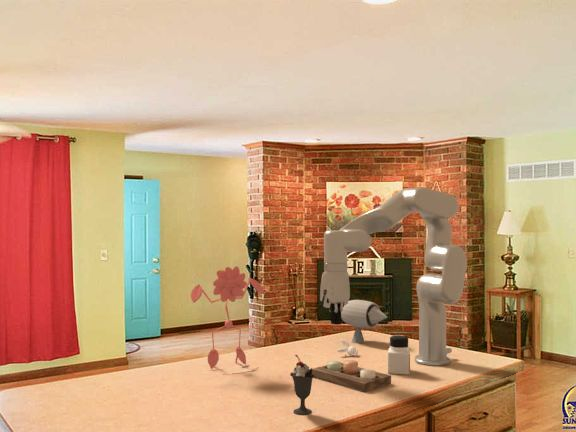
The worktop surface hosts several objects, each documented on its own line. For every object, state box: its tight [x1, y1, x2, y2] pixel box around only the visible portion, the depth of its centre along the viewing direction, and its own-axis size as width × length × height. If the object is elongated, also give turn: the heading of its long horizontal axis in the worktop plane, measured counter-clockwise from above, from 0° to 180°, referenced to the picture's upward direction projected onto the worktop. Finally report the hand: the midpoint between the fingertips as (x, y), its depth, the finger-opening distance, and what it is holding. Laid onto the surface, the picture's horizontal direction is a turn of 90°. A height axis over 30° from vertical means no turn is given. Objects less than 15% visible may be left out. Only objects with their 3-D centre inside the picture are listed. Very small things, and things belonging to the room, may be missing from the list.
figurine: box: [190, 265, 266, 375], centre depth 196 cm, size 15×26×35 cm, turn 115°
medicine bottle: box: [387, 334, 411, 376], centre depth 194 cm, size 7×7×12 cm
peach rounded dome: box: [342, 359, 359, 375], centre depth 183 cm, size 5×5×4 cm
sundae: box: [289, 354, 315, 416], centre depth 153 cm, size 7×7×15 cm
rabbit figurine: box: [336, 338, 359, 357], centre depth 216 cm, size 6×4×8 cm
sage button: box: [326, 360, 343, 371], centre depth 188 cm, size 5×5×4 cm
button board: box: [312, 362, 392, 393], centre depth 183 cm, size 13×22×3 cm, turn 43°
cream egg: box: [360, 368, 376, 380], centre depth 178 cm, size 5×5×4 cm
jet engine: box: [341, 299, 389, 344], centre depth 238 cm, size 15×20×18 cm
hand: (336, 323), depth 189 cm, fingers closed
